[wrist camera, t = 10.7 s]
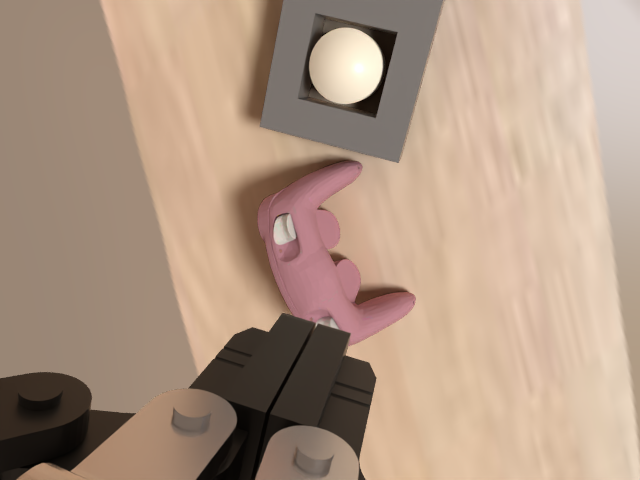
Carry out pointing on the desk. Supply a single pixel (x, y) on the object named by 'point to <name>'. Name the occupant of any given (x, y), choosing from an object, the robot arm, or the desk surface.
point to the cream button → (346, 66)
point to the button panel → (336, 120)
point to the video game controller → (321, 257)
